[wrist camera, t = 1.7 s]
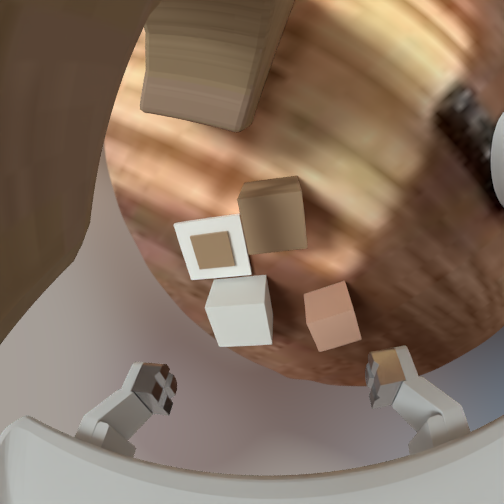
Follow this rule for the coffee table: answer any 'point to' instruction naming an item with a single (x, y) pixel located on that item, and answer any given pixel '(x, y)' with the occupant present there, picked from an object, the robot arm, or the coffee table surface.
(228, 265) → the card
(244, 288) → the base block
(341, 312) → the terracotta cube
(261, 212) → the walnut cube
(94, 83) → the decorative block
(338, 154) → the coffee table surface
